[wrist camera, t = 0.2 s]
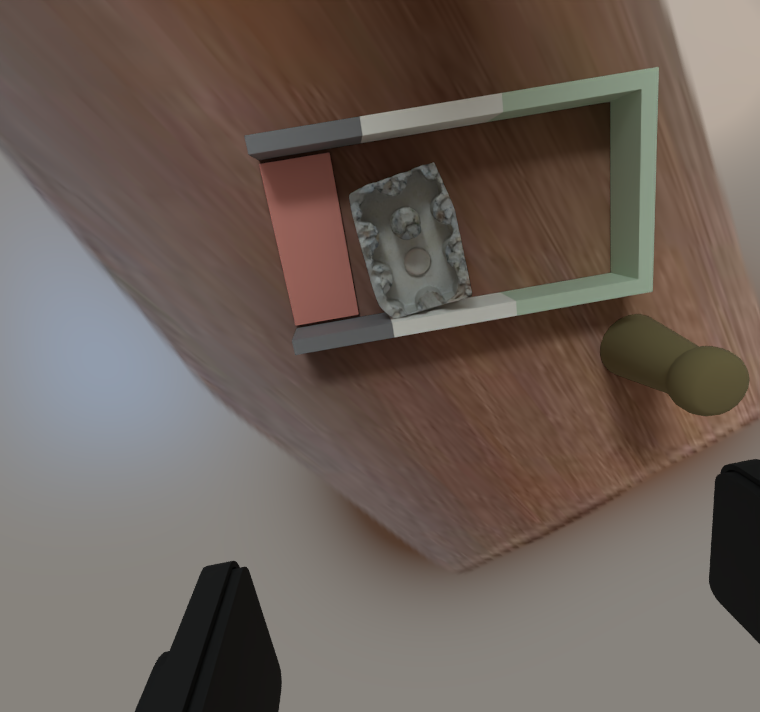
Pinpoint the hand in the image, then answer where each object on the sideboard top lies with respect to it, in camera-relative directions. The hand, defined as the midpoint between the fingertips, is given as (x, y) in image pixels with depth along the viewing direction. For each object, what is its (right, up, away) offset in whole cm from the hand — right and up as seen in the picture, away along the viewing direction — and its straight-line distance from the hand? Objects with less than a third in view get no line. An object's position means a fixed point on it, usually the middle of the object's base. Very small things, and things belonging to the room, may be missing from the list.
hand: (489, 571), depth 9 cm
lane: (+3, +16, +29) cm, 33 cm away
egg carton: (+2, +16, +30) cm, 33 cm away
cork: (+21, +5, +34) cm, 40 cm away
